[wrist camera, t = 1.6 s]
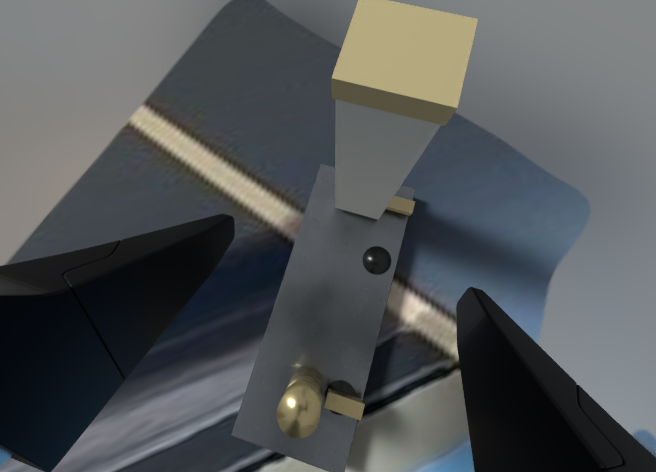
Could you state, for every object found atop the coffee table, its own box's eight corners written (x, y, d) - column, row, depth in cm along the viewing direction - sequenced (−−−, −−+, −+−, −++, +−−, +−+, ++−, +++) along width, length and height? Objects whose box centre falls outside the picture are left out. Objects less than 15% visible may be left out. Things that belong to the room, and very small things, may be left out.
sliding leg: (405, 229, 19) (535, 126, 7) (333, 209, 20) (331, 78, 7) (415, 192, 20) (550, 34, 7) (344, 173, 20) (360, -5, 8)
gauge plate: (342, 461, 18) (345, 535, 13) (239, 423, 19) (200, 479, 13) (409, 195, 22) (434, 165, 16) (322, 171, 23) (318, 135, 17)
